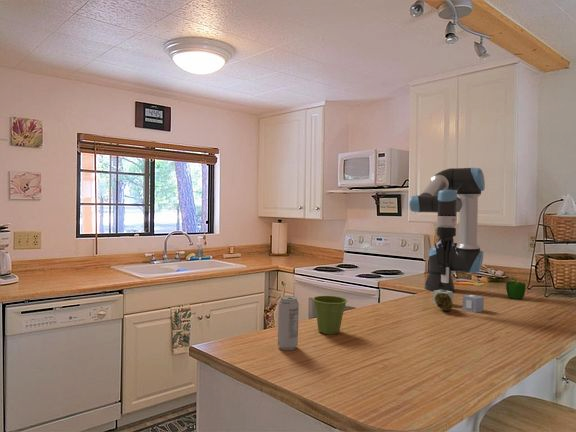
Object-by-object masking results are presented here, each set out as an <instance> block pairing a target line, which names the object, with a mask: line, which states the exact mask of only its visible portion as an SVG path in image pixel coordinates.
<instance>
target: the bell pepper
mask: <svg viewBox="0 0 576 432" xmlns="http://www.w3.org/2000/svg"><path fill="white" fill-rule="evenodd" d="M510 279H511V280H513V281H507V282H506V284H505V288H506V293H507V297H508V298H510V299H514V300H520V299H521V300H522V299H524V296H525V294H526V289H527V285H526V283H524V282H520V281H517V279H516V278H515V277H511V278H510Z"/></svg>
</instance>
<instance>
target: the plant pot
mask: <svg viewBox="0 0 576 432" xmlns="http://www.w3.org/2000/svg"><path fill="white" fill-rule="evenodd" d="M312 301H313V302H314V303H313V304H314V307H315V313H316V322H317V330H318V332H319V333H322V334H325V335H329V336H330V335H335V334H339V333H340V331H341V326H342V319H343V314H344V310H345V308H346V304H347V302H349V301H348V299H347V298H345V297H341V296H336V295H317V296H314V297H312Z"/></svg>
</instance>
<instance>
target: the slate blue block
mask: <svg viewBox="0 0 576 432" xmlns="http://www.w3.org/2000/svg"><path fill="white" fill-rule="evenodd" d="M484 299H485V298H484V296H481V295H474V294H467V295H466V294H465V295H463V296H462V311H467V312H471V313H475V314H476V313H480V312H484V304H485V303H484V301H485V300H484Z"/></svg>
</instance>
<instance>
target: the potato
mask: <svg viewBox="0 0 576 432" xmlns="http://www.w3.org/2000/svg"><path fill="white" fill-rule="evenodd" d="M434 299H435V302H436V304H435V305H436V306H437V307H438V308H439V309H440V310H442V311H445V312H449V311H451V310H452V308H453V306H454V304H452V300H451V298H450V296H449V295H448V294H445V293H438V294H437V295H436V296H435V298H434Z"/></svg>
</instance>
